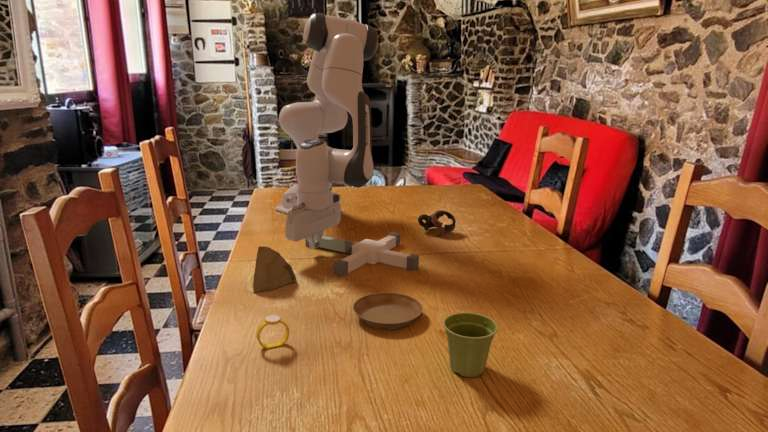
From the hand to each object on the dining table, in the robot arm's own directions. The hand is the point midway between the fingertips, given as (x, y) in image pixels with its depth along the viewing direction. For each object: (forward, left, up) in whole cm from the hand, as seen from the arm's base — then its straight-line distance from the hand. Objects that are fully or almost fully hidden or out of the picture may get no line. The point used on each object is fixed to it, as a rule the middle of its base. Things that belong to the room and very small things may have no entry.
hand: (314, 247), depth 145 cm
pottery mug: (+20, +37, -2) cm, 42 cm away
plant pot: (+58, -30, -2) cm, 65 cm away
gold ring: (+24, -43, -2) cm, 49 cm away
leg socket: (-5, +6, -2) cm, 8 cm away
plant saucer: (+36, -21, -3) cm, 42 cm away
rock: (+5, -22, -2) cm, 22 cm away
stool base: (+19, +6, -2) cm, 20 cm away
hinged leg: (+2, +6, -2) cm, 7 cm away
